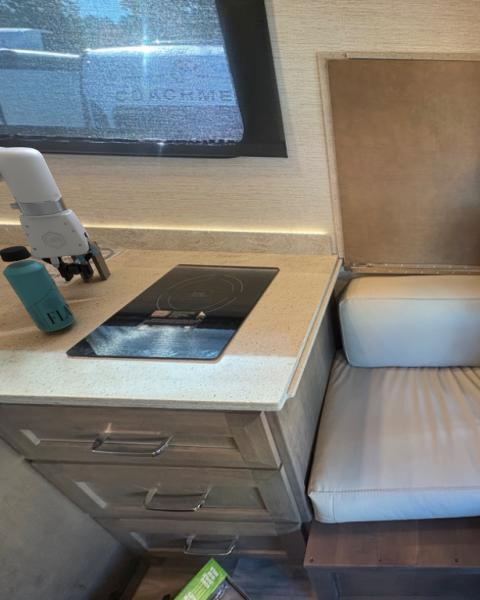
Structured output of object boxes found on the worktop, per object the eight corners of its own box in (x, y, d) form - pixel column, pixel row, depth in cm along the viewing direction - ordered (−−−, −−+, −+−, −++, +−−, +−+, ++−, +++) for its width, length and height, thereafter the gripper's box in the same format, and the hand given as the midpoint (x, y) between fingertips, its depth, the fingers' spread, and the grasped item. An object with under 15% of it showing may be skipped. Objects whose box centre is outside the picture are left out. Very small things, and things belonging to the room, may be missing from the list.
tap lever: (84, 276, 84) (78, 265, 82) (68, 278, 83) (61, 267, 81) (96, 252, 92) (90, 242, 90) (81, 254, 91) (75, 244, 89)
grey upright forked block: (118, 286, 94) (101, 247, 88) (73, 291, 90) (52, 252, 84) (124, 275, 100) (108, 238, 94) (82, 280, 96) (62, 242, 90)
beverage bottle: (57, 339, 73) (6, 256, 63) (32, 335, 74) (-22, 252, 64) (86, 323, 79) (43, 244, 69) (62, 319, 80) (16, 241, 69)
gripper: (-15, 214, 70) (31, 290, 79) (84, 209, 76) (115, 279, 85) (3, 205, 75) (44, 276, 85) (94, 200, 82) (122, 267, 91)
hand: (79, 277), depth 85 cm, fingers closed on tap lever, 3 cm apart
